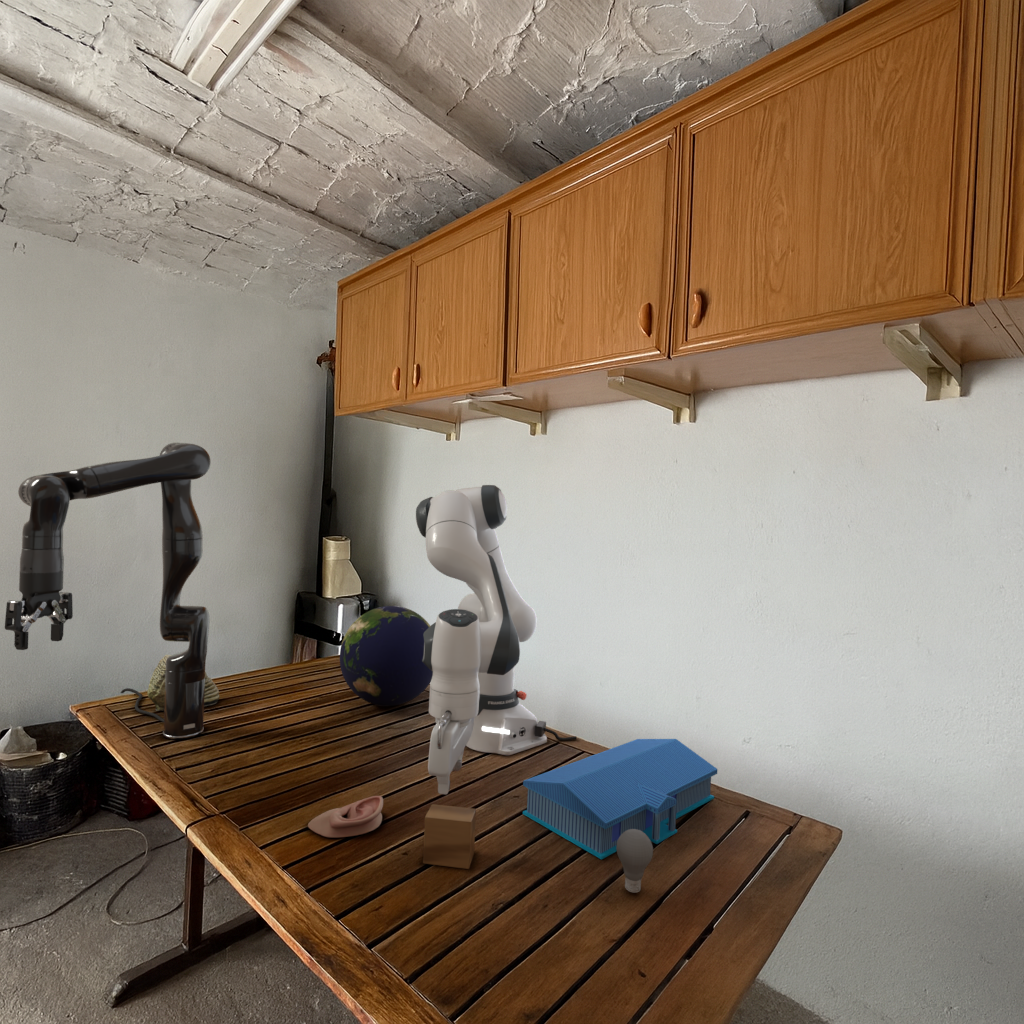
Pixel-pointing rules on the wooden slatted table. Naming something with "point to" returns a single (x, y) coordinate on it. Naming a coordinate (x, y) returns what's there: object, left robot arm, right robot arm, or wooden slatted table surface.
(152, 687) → the fossil
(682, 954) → the wooden slatted table surface
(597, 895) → the wooden slatted table surface
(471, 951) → the wooden slatted table surface
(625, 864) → the light bulb
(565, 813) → the model building
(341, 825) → the anatomical model
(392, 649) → the globe
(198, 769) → the wooden slatted table surface
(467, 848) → the block
